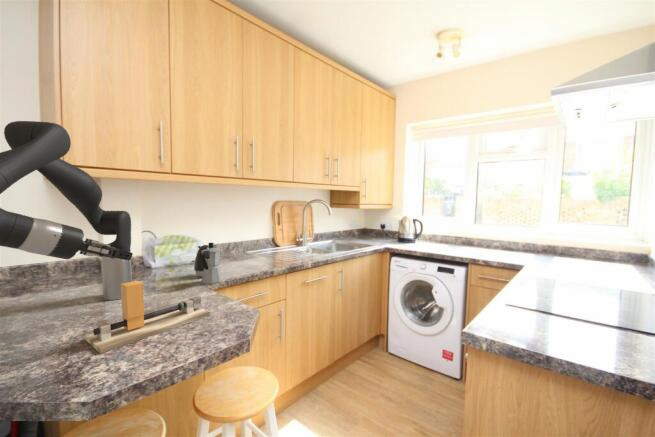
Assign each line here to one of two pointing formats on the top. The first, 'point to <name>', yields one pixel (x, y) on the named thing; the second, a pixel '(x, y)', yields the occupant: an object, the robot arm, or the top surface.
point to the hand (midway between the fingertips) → (130, 256)
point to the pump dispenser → (199, 261)
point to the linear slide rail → (146, 325)
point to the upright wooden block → (132, 304)
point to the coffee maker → (211, 265)
